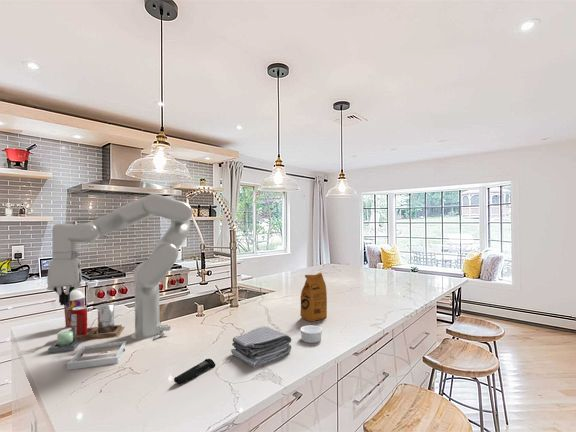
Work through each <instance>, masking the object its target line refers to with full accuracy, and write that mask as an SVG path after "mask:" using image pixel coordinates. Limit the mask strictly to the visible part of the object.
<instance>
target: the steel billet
mask: <svg viewBox="0 0 576 432" xmlns="http://www.w3.org/2000/svg"><path fill="white" fill-rule="evenodd" d="M114 325H115V304H114V303H112V302H109V303H108V302H107V303H101V304H98V305H97V327H98V333H108V332H114Z"/></svg>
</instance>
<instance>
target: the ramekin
mask: <svg viewBox="0 0 576 432" xmlns="http://www.w3.org/2000/svg"><path fill="white" fill-rule="evenodd" d="M322 332H323V328H322V327H320V326H318V325H317V326H316V325H309V324H308V325H303V326H301V327H300V336H301V340H302V342H305V343H307V344H317V343H319V342H320V341H322Z"/></svg>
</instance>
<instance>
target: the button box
mask: <svg viewBox="0 0 576 432" xmlns="http://www.w3.org/2000/svg"><path fill="white" fill-rule="evenodd" d="M81 343H82V341H81V338H75V339H73V343H72V344H71V345H65V346H58V339H57V340H56V341H55V342H54V343H53V344H52V345H51V346H50V347H48V348H47V352H48V354H57V353H65V352H67V353H68V352H74V351H75V350H76V349H77V348H78V346H79V345H80V344H81Z"/></svg>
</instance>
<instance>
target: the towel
mask: <svg viewBox="0 0 576 432" xmlns="http://www.w3.org/2000/svg"><path fill="white" fill-rule="evenodd" d="M290 343H292V338H291V337H290V336H289V335H288V334H287V333H284V332H281V331H279V330H276V329H274V328H272V327H269V326H260V327H257V328H255V329H252V330H250V331H248V332H246V333H243V334H240V335H236V336H234V337H233V338H232V346H233V347H234V348H232V349H230V353H231V355H232V356H234V357H235V358H238V359H240V360H241V361H243V362H244V363H246V364H248V365H249V366H251V367H252V368H257V367H261V366H262V365H265V364H267V363H271V362H272V361H275V360H278V359H279V358H282V357H284V356H286V355H287V354H290V352H291V350H292V345H291V344H290Z"/></svg>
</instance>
